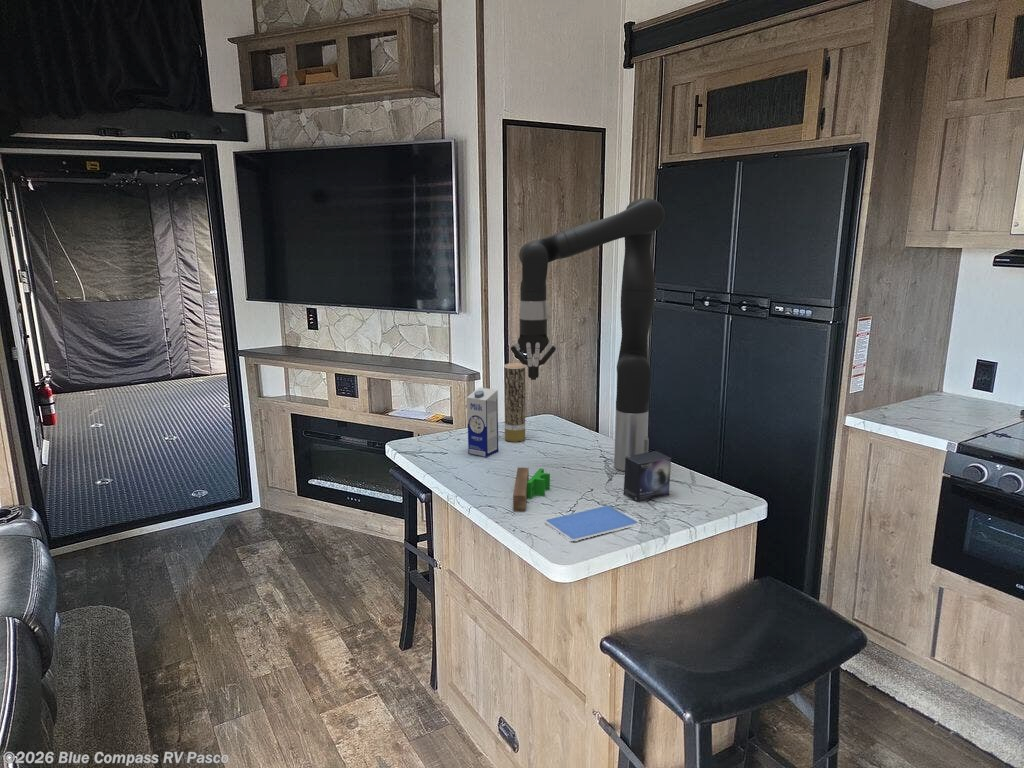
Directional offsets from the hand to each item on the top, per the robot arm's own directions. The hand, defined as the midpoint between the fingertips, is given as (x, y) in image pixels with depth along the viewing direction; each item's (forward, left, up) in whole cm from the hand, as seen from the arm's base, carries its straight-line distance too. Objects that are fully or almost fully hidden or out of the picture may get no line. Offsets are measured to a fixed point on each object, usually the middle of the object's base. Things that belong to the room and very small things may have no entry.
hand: (533, 379), depth 188 cm
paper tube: (+7, -30, -27) cm, 41 cm away
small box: (-30, +16, -27) cm, 44 cm away
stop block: (+2, +18, -27) cm, 33 cm away
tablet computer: (-15, +35, -28) cm, 47 cm away
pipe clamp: (-2, +15, -27) cm, 31 cm away
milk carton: (+16, -16, -27) cm, 35 cm away
